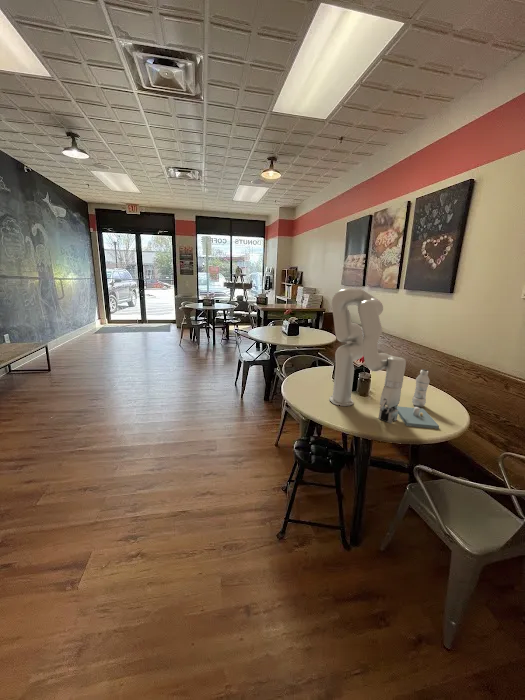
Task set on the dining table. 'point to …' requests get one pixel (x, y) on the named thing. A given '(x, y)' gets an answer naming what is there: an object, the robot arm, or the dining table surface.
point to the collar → (390, 414)
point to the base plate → (416, 417)
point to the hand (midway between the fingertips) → (387, 418)
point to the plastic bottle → (421, 388)
